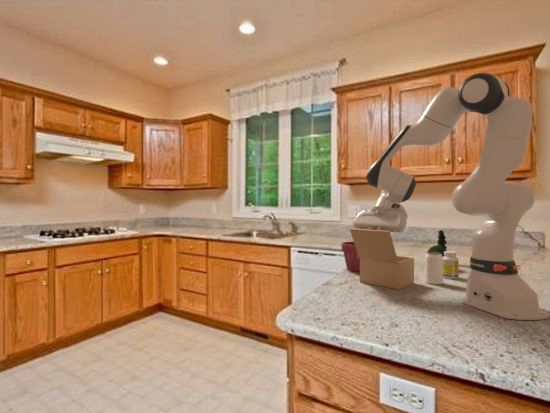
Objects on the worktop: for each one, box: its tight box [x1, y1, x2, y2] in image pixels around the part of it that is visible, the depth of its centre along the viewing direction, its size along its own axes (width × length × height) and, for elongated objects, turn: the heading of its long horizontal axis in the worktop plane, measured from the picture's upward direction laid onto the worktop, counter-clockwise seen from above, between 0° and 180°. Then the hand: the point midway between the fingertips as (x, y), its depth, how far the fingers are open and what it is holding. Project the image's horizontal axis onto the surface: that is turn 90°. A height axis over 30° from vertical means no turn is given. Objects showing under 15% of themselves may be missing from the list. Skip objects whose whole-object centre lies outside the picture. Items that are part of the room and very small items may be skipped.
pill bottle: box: [443, 250, 459, 280], centre depth 138 cm, size 6×6×11 cm
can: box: [424, 251, 444, 286], centre depth 129 cm, size 6×6×12 cm
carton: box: [359, 255, 415, 290], centre depth 130 cm, size 14×16×10 cm
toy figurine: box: [427, 229, 448, 257], centre depth 161 cm, size 9×19×25 cm
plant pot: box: [341, 241, 360, 272], centre depth 154 cm, size 14×14×13 cm
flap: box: [349, 227, 398, 264], centre depth 122 cm, size 14×16×1 cm
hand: (371, 237), depth 121 cm, fingers closed, pressing on flap
